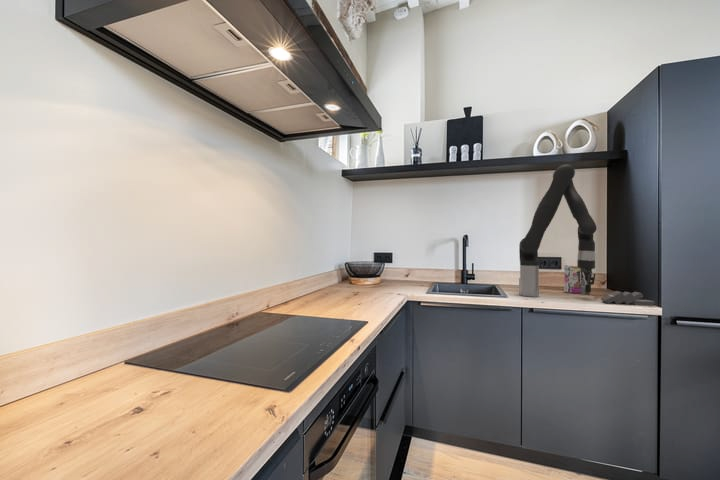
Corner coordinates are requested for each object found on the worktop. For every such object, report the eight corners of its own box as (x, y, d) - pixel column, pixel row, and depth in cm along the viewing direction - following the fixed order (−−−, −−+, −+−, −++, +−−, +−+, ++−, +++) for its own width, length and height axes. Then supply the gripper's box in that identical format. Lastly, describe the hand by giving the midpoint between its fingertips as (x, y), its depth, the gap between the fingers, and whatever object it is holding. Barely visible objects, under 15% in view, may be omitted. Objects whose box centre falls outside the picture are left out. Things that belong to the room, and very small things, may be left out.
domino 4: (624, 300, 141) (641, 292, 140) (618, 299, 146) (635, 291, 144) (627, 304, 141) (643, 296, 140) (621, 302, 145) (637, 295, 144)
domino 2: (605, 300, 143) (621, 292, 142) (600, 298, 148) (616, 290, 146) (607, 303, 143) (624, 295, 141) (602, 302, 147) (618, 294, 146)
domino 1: (585, 294, 153) (585, 279, 153) (580, 293, 157) (581, 278, 157) (589, 295, 153) (589, 279, 153) (585, 293, 157) (585, 278, 157)
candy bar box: (568, 293, 172) (568, 265, 172) (563, 292, 177) (563, 265, 177) (589, 293, 171) (588, 265, 171) (583, 292, 176) (583, 265, 176)
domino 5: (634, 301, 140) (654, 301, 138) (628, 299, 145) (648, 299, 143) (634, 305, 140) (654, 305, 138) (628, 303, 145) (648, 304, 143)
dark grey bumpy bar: (614, 300, 142) (631, 292, 141) (609, 299, 147) (625, 291, 145) (616, 304, 142) (633, 296, 140) (611, 302, 146) (627, 295, 145)
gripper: (571, 258, 163) (571, 289, 163) (584, 259, 149) (584, 293, 149) (587, 258, 161) (586, 289, 161) (602, 260, 147) (601, 294, 147)
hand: (585, 291), depth 155 cm, fingers closed on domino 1, 4 cm apart
